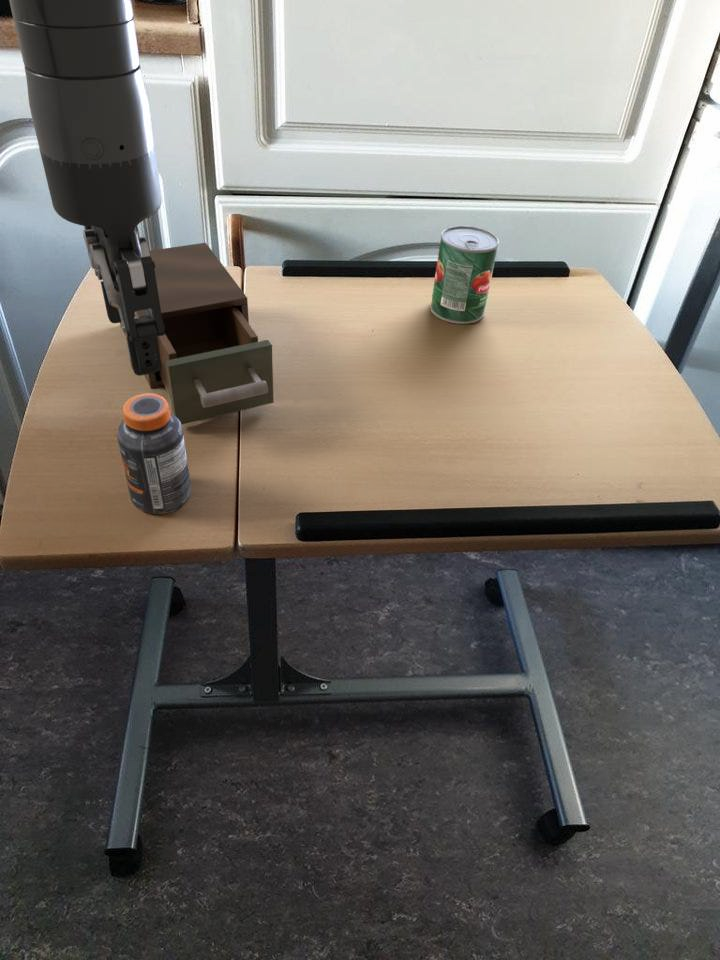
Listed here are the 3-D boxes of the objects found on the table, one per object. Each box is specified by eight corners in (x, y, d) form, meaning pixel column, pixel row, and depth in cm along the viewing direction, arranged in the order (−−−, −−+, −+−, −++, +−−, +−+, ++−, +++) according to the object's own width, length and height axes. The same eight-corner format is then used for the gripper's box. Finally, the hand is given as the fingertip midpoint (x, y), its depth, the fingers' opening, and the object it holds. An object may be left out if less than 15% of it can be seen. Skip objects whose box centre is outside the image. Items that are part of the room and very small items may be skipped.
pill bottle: (125, 483, 72) (105, 392, 64) (183, 469, 74) (170, 380, 66) (137, 523, 68) (118, 431, 60) (198, 507, 70) (186, 417, 62)
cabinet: (251, 366, 88) (247, 297, 82) (150, 388, 84) (138, 316, 77) (211, 308, 98) (205, 242, 92) (119, 324, 94) (107, 256, 87)
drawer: (287, 424, 79) (287, 365, 74) (188, 449, 75) (180, 389, 69) (231, 340, 91) (227, 284, 86) (143, 357, 87) (133, 300, 81)
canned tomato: (427, 296, 105) (437, 223, 97) (478, 297, 105) (493, 226, 98) (434, 323, 99) (445, 249, 92) (488, 325, 100) (504, 251, 92)
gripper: (181, 170, 45) (204, 380, 56) (127, 105, 54) (156, 297, 65) (58, 184, 42) (107, 402, 53) (22, 112, 51) (71, 312, 62)
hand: (134, 344), depth 59 cm, fingers open, 8 cm apart
